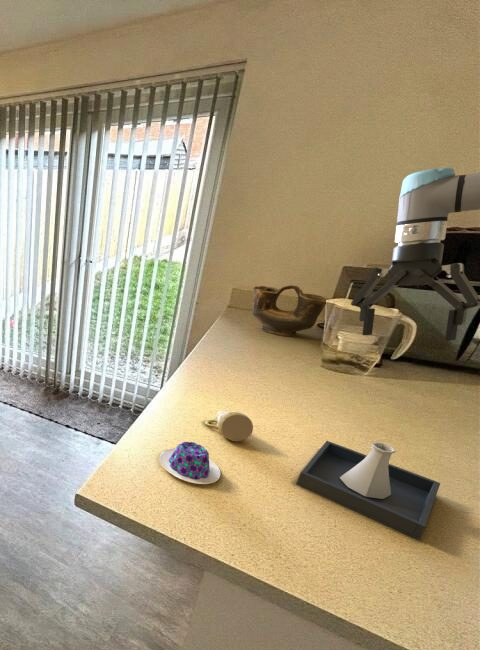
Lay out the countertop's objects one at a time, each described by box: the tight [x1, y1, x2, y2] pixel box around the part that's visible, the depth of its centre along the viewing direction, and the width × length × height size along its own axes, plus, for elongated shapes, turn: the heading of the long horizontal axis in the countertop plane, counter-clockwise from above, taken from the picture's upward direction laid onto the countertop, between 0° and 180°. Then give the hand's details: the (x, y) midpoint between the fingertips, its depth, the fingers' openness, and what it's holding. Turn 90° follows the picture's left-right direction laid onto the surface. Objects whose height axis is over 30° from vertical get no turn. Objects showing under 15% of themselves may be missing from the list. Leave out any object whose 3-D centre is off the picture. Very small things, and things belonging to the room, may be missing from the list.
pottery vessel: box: [251, 284, 329, 338], centre depth 158 cm, size 25×11×20 cm, turn 38°
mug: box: [204, 410, 254, 442], centre depth 98 cm, size 8×10×10 cm
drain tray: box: [295, 440, 441, 541], centre depth 79 cm, size 18×18×3 cm
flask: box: [340, 441, 397, 499], centre depth 78 cm, size 7×7×10 cm
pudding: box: [159, 441, 221, 485], centre depth 86 cm, size 12×12×5 cm
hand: (405, 337), depth 91 cm, fingers open, 13 cm apart
